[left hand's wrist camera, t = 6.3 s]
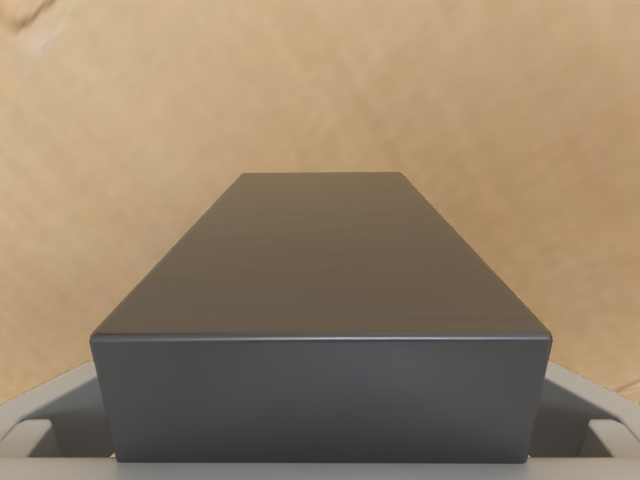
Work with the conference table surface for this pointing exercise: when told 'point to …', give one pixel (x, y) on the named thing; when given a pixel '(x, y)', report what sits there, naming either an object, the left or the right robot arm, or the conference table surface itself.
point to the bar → (321, 335)
